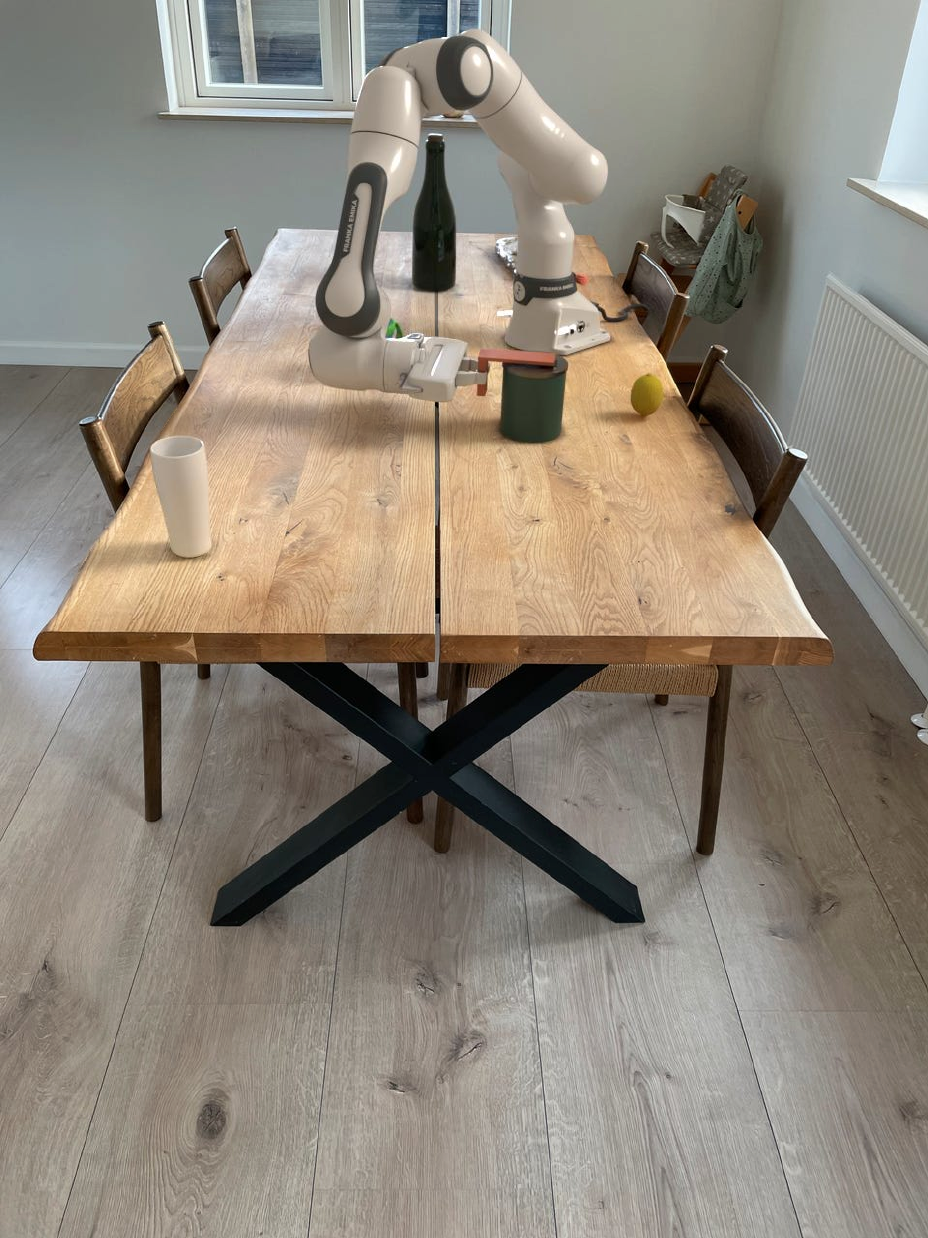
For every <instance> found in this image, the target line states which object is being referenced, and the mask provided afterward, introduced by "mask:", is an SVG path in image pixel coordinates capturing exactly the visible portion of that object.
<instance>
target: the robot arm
mask: <svg viewBox="0 0 928 1238" xmlns="http://www.w3.org/2000/svg"><path fill="white" fill-rule="evenodd" d="M354 108H355V109H354V112H353V116H352V123H351V128H350V129H351V130H350V135H349V142H348V150H347V165H346V179H345V180H346V181H345V194H344V198H343V203H342V209H341V214H340V219H339V220H340V221H339V224H338V226H339V227H338V231H337V235H336V241H335V247H334V252H333V256H332V259H331V262H330V264H329V267H328V268H327V270H326V272H325V273H324V276H323V277H322V278H321V280H320V282H319V284H318V286H317V288H316V294H315V297H314V298H315V300H314V301H315V302H314V303H315V304H314V305H315V309H316V314H317V315H318V318H319V320H320V321H321V326H320V328H319V329H318V331H316V333H315V334H314V335H313V336H312V337H311V338H310V340H309V343H308V349H307V354H308V355H307V356H308V363H309V367H310V371H311V373H312V375H313V377H314V378H315V379H316V381H317V382H318V383H320V384H321V385H324V386H326V387H330V388H335V389H341V390H348V391H358V392H359V391H360V392H361V391H367V390H375V391H379V392H382V393H386V394H399V395H408V397H410V398H412V399H415V400H419V401H427V402H434V403H443V404H444V403H445V404H446V403H449V402H452V401H453V400H454V397H455V394H456V392H457V389H458V387H468V386H472V385H477V384H485V383H486V381H487V372H486V371H478V359H476V358H473V357H472V356H471V357H470V356H469V357H468V343H467V342H466V341H463V340H461V339H455V338H450V337H442V336H426V337H425V335H424V333H422V332H412V333H410V334H409V335H406V336H404V338H399V339H396V338H392V339H391V338H386V335H387V331H388V327H389V322H390V318H392V304H391V301H390V298H389V296H388V294H387V292H386V291H385V290H384V289H383V288H382V287H381V286H380V285H379V284H378V283H377V281H376V277H375V263H376V257H377V251H378V246H379V240H380V234H381V230H382V224H383V220H384V217H385V214H386V212H387V210H388V208H389V207H390V206H391V205H392V204H393V203H394V202H396V201H399V200H400V199H402V197H404V195H406V194H407V193H408V191H409V189H410V185H411V182H412V179H413V177H414V173H415V169H416V166H417V161H418V160H417V159H418V153H419V146H420V140H421V139H420V138H421V127H422V122H423V119H424V118H434V117H440V116H443V115H448V114H452V113H454V112H458V111H459V112H464V111H467V112H468V113H469V115H470V116H471V117H472V118H473V119H474V121H475V122H476V123H477V124H478V125H479V127H480V129H482V131H483V132H484V134H486V136H487V137H488V139H490V141H491V142H492V144H493V145H494V146H495V147H496V148H497V149H499V151H498V155H497V166H498V167H497V168H498V171H499V174H500V176H501V177H502V179H503V180H504V182H505V184H506V185H507V188H508V190H509V193H510V196H511V200H512V205H513V209H514V213H515V218H516V219H515V220H516V229H517V238H518V248H517V269H516V270H515V271H514V276H513V284H512V287H513V288H512V294H513V303H512V309H511V310H503V311H497V316H507V315H510V319H509V323H508V327H507V330H506V333H505V335H504V342H505V343H506V344H507V345H508V346H510V347H513V348H515V349H517V350H520V351H543V352H549V353H555V354H556V355H559V356H568V355H570V354H574V353H577V352H581V351H583V350H586V349H589V348H592V347H595V346H598V345H601V344H604V343H608V342H610V341H611V335H610V333H609V332H608V331H607V330H605V328H602V327H601V317H602V319H603V320H604V321H606V322H609V323H617V322H622V321H625V320H627V319H628V317H629V315H628V313H627V312H629V311H631V310H635V309H644V310H645V311H648V312H649V311H651V308H650V307H649V306H648V305H647V304H645V303H640V302H639V303H634V304H630V305H628V306H626V307H624V308H622V309H621V311H620V313H621V315H622V316H618V317H609V316H607V315H608V314H607V313H606V310H605V308H603V307H602V306H600V303H598V302H596V301H591V300H589V298H587V297H586V296H584V295H583V294H582V293H581V292H580V291H579V290H578V286H577V284H579V285H580V286H582V287H583V286H586V285H587V284H588V282H589V277H588V276H587V275H586V274H583V273H580V272H579V273H578V274H576V272H574V271H573V261H574V251H575V240H576V239H575V238H576V236H575V230H574V228H573V226H572V224H571V222H570V221H569V219H568V217H567V215H566V213H565V209H564V205H566V206H567V205H568V206H584V205H589V204H591V203H594V202H595V201H596V200H597V199H598V198H599V197H600V196H601V195H602V193H603V192H604V190H605V188H606V185H607V182H608V176H609V165H608V161H607V159H606V157H605V155H604V154H603V153H602V152H601V151H600V150H599V149H597V148H595V146H592V145H591V144H590V143H589V142H587V141H586V140H584V138H582V137H581V136H580V135H579V134H578V133H577V132H576V131H575V129H573V128H572V127H571V126H570V125H569V124H568V123H567V122H566V121H565V120H564V119H563V118H562V117H561V116H559V114H557V113H556V112H555V111H554V110H553V109H552V108H551V107H550V106H549V105H548V104H547V103H546V102H545V101H544V99H543V98H542V97H541V96H540V95H539V93H538V92H537V91H536V89H535V87H534V86H533V85H532V83H531V82H530V81H529V80H528V78H527V76H526V75H525V74H524V72H523V71H522V69H521V68H520V66H519V65H518V63H517V62H516V61H515V59H513V57H511V55H510V53H509V52H507V50H506V49H505V48H504V47H503V46H502V45H501V44H500V43H499V42H498V41H497V40H496V39H495V38H494V37H493V36H491V35H490V34H489V33H488V32H487V31H485V30H483V29H480V28H471V29H467V30H464V31H463V32H461V33H459V34H458V35H452V36H449V37H438V38H437V37H436V38H429V39H424V40H422V41H420V42H417V43H415V44H411V45H408V46H402V47H398V48H395V49H393V50H392V51H390V52H389V53H387V54H386V55H385V56H384V57H383V58H382V59H381V60H380V62H379V63H378V65H377V67H375V68H373V69H371V70H370V71H369V72H368V73H367V74H366V75H365V77H364V79H363V82H362V84H361V87H360V90H359V93H358V97H357V100H356V104H355V107H354ZM600 313H601V314H600ZM490 371H491V363H490V361H488V375H489V373H490Z"/></svg>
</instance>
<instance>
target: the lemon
mask: <svg viewBox="0 0 928 1238" xmlns="http://www.w3.org/2000/svg"><path fill="white" fill-rule="evenodd" d="M663 387H664V386H663V384H662V381H661V380H660V379H659V378H658V377H657V376H655V375H654V374H653V373H651V372H648V373H646V374H643V375H640V376H639V377H638V378H636V380H635V381H634V383H633V385H632V388H631V391H630V404H631V407H632V409H633V410H634V411H635V412H636V413H637V414H639V415H640V416H641V417H642V418H646V417H648V416H650V415H653V414H654V413H656V412H657V411H658V410H659V409H660V407H661V405H662V403H663V401H664V400H663V399H664V388H663Z"/></svg>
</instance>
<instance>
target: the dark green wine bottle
mask: <svg viewBox="0 0 928 1238" xmlns="http://www.w3.org/2000/svg"><path fill="white" fill-rule="evenodd" d="M424 146H425V147H424V148H425V164H424V165H425V167H424V174H423V176H424V177H423V181H422V185H421V187H420V191H419V194H418V197H417V199H416V202H415V205H414V210H413V216H412V233H411V234H412V235H411V238H412V239H411V284H412V286H413V287H414V288H416V289H417V290H420V291H425V292H447V291H449V290H452V289H453V288H455V286H456V284H457V283H456V281H457V216H456V209H455V205H454V202H453V199H452V196H451V193H450V191H449V190H450V189H449V187H448V182H447V175H446V160H445V158H446V156H445V154H446V153H445V152H446V142H445V140H444V135H443V134H440V133H429V134H428V135H427V140H426V141H425V145H424Z"/></svg>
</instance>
